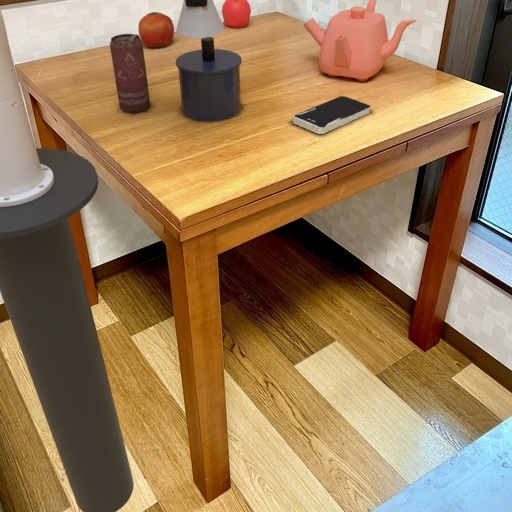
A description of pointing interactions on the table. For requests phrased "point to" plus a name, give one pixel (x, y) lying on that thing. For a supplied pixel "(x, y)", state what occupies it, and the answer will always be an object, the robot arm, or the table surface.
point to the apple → (236, 13)
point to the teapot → (355, 42)
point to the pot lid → (208, 59)
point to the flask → (199, 21)
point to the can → (130, 73)
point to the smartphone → (331, 114)
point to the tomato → (156, 29)
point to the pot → (210, 95)
